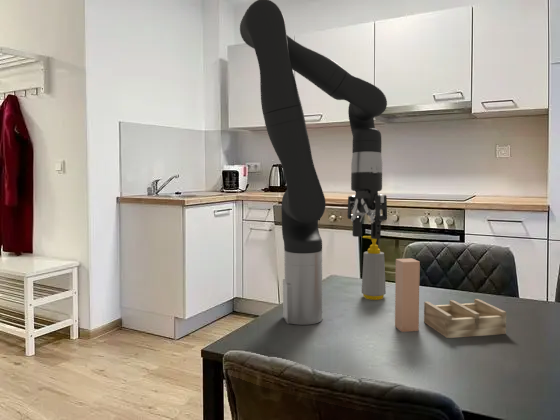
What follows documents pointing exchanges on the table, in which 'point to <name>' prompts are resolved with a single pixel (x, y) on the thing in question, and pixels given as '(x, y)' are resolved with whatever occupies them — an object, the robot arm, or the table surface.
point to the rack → (465, 319)
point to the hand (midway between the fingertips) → (366, 237)
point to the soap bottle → (373, 272)
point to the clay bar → (407, 295)
